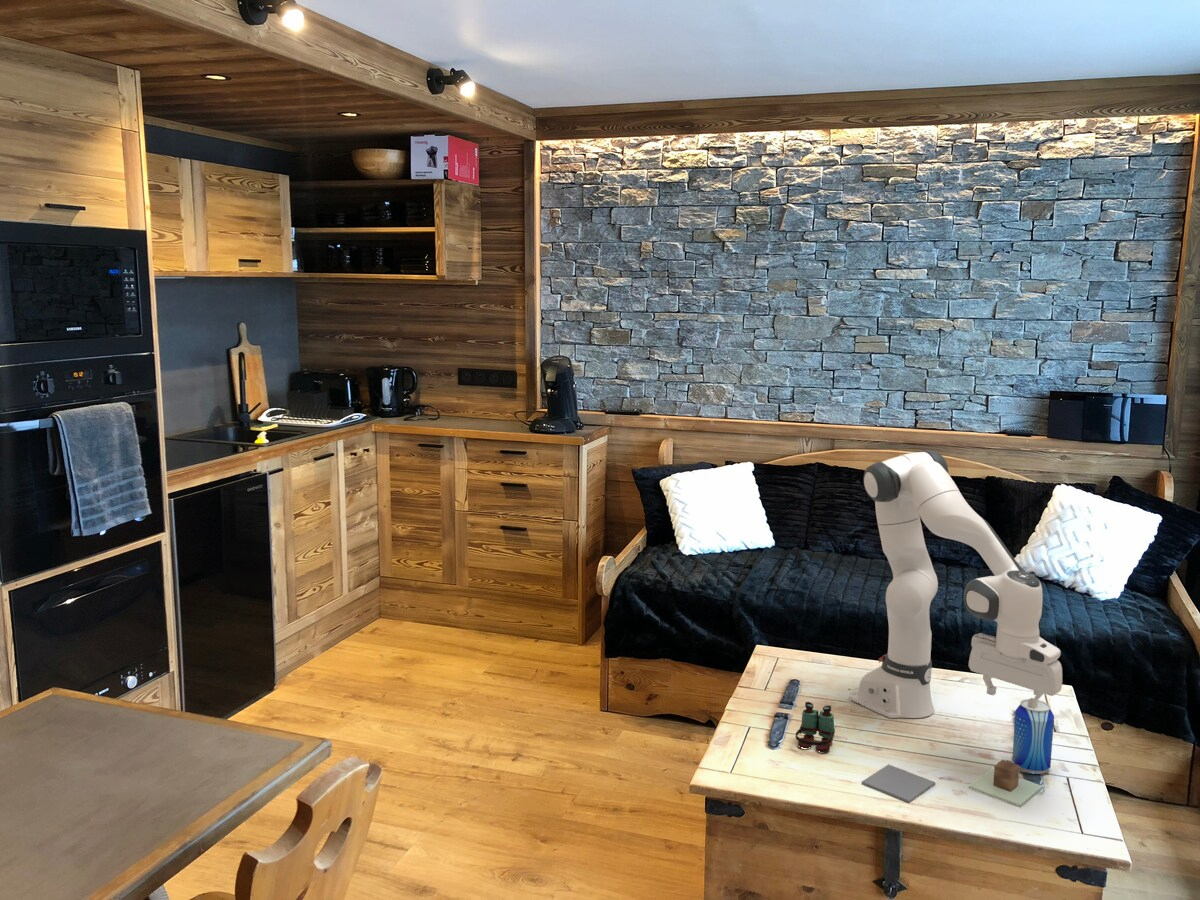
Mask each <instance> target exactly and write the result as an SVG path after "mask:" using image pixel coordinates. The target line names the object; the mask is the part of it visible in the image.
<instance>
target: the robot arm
mask: <svg viewBox="0 0 1200 900" xmlns="http://www.w3.org/2000/svg"><path fill="white" fill-rule="evenodd" d="M862 479H863V486H864V490H865V493H866V494H867V495H868V497H869V498H870V499H871V500H873V501H874V504H875V506H874V507H875V515H876V522H877V528H878V532H879V533H878V534H879V538H880V541H881V542H880V543H881V548H882V551H883V552H882V553H884V555H885V557H886V558H887V561H888V564H889V567H890V568H891V572H892V581H891V582H889V584H888V586H887V588H886V591H885V604H886V612H887V621H888V642H887V643H888V645H887V646H888V647H887V653H886V654H883V655H882V656H881V657H880V658H879V657H878V660H879V661H878V663H881V662H882V663H881V666H879V667H876V668H875V669H873V670H872V671H870V672H867V673H866V674H865V675H863V677H862V678H861V680H860V682H859V685H858V687H857V688H855V689H853V691H851V693H850V695H849V700H850V699H851V700H853V701H852V702H854V701H855V702H854V703H856V702H857V703H856V704H858V703H859V704H858V705H860V704H861V705H860V706H862V705H863V707H864V706H865V707H864V708H866V709H869V710H872V711H873V712H876V713H878V714H880V715H882V716H884V717H886V718H888V719H889V718H890V719H898V718H906V719H923V718H926V717H930V716H931V715H933V714H934V713H935V709H934V705H933V699H932V693H931V691H932V690H931V679H932V667H933V666H932V664H933V662H932V658H931V651H932V636H933V634H932V630H931V621H930V608H931V607H930V606H931V602H932V600H933V599H934V598H935V596H936V595H937V592H938V587H939V586H938V585H939V581H938V577H937V574H936V571H935V569H934V566H933V563H932V559H931V557H930V555H929V551H928V549H927V546H926V542H925V537H924V533H923V532H924V531H923V527H922V522H923V524H924V526H926V527H927V529H928V530H929V531H930V532H931V533H932V534H934V535H935V536H938V537H941V538H944V539H948V540H953V541H956V542H961V543H963V544H965V545H966V546H970V547H971V548H973V549H974V550H976V552H977V553H978V554H979V555H980V556H981V558H982V559H983V561H984V562H985V563H986V565H987V566H988V568H989V570H990V571H991V572H992V574H993V575H989V576H983V577H979V578H978V577H977V578H975V579H971V580H970V581H969V582H968V583H967V584H966V585H965V587H964V590H963V601H964V605H965V607H966V610H967V611H968V612H969V614H970V615H972V616H974V617H975V618H978V619H981V620H985V621H986V620H987V621H995V622H996V623H997V625H996V627H997V628H996V636H992V635H990V634H989V635H988V634H985V633H983V632H979V633H975V634H974V635H973V636H972V638H971V642H970V643H971V644H970V646H971V651H970V653H969V660H968V668H969V669H970V671H971V672H974V673H977V674H981V675H982V680H983V682H984V684H985V685H986V686H985V687H986V694H987V695H991V696H995V695H997V694H996V693H997V685H996V686H995V685H994V684H993V681H992V679H997V680H999V681H1003V682H1006V683H1008V684H1009V683H1010V684H1012V685H1015V686H1018V687H1022V688H1024V689H1025V688H1026V689H1028V690H1031V691H1033V696H1034V697H1030V698H1028V699H1029V700H1028V705H1027V707H1030V708H1033V709H1035V708H1036V707H1037V701H1038V700H1040V699H1041V697H1042V696H1043V695H1047V696H1051V697H1053V696H1055V695H1057V694H1059V693H1060V692H1061V690H1062V688H1063V667H1062V663H1061V662H1060V661H1059V660H1058V659H1059V658H1060V657H1061V654H1062V653H1061V652H1062V651H1061V649H1060V648H1058V647H1057V646H1055V645H1053V644H1052V643H1050V642H1048V641H1046V640H1045V639H1044V638H1042V637H1041V636H1040V627H1039V623H1040V620H1041V617H1042V615H1043V614H1042V612H1043V602H1044V601H1043V599H1044V598H1043V597H1044V596H1043V586H1042V583H1041V581H1040V579H1039V578H1038V577H1037V576H1035V575H1033V574H1032V573H1030V572H1027V571H1026V570H1025V569H1023V568H1022V566H1020V564H1019V563H1018V562H1017V560H1016V559H1015V557H1014V556H1013V555H1012V553H1011V552H1010V550H1009V548H1007V546H1006V545H1005V543H1004V542H1003V540H1002V539H1001V538H1000V537H999V535H998V534H997V533H996V531H995V530H994V528H993V527H992V526H991V525H990V523H989V522H988V521H987V520H985V519H984V518H983V517H982V516H980V515H979V514H978V513H977V512H976V511H975V510H974V509H973V507H971V505H969V503H968V502H967V501H966V499H965V498H964V496H963V495H962V493H961V492H960V489H959V488H958V485H957V484H956V483H955V480H953V479H952V476H951V475H950V474H949V466H948V463H947V460H946V459H945V457H944V456H943V455H942V454H941V453H940V452H939V451H936V450H926V449H925V450H921V451H920V452H918V451H917V452H911V453H906V454H905V453H904V454H900V455H898V456H895V457H891V458H888V459H886V460H883V461H877V462H875V463H872V464H871V465H869V466H867V467H866V468H865V470H864V473H863V477H862ZM921 521H922V522H921ZM851 700H850V701H851Z"/></svg>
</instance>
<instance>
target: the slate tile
mask: <svg viewBox="0 0 1200 900" xmlns="http://www.w3.org/2000/svg"><path fill="white" fill-rule="evenodd" d="M863 784H864V786H865V785H866V787H868V788H871V789H873V790H876V791H878V792H881V793H883V794H886V795H888V796H891V797H892V798H896V799H898V800H900V801H903V802H905V803H908V804H910V803H912V802H913V801H915V800H916V799H917V798H919V797H920V796H921V795H922V794H924V793H926V792H927V791H928V790H929V789H931V788H932V787H934V786H935V785H936V781H934V780H930V779H928V778H925V777H923V776H920V775H917V774H915V773H913V772H909V771H907V770H904V769H902V768H899V767H896V766H894V765H891V764H887V765H885V766H884V767H882V768H880V769H879V770H877V771H876V772H875V773H873V774H871V775H869V776H868V777H867V778H864V779H863V780H862V781H861V785H863Z"/></svg>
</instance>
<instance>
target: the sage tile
mask: <svg viewBox="0 0 1200 900" xmlns="http://www.w3.org/2000/svg"><path fill="white" fill-rule="evenodd" d="M993 783H994V768H993V767H991V768H990V769H988V770H987V771H985V772H984V773H983V774H982V775H980V776H978V777H977V779H975V780H973V782H971V783H970V784H968V786H967V787H968V789H970V790H973V791H976V792H978V793H981V794H983V795H987V796H989V797H992V798H994V799H997V800H1000V801H1003V802H1005V803H1007V804H1011V805H1013V806H1016V807H1018V808H1022V807H1023V806H1024V805H1025V804H1027V802H1029V800H1031V799H1033V797H1034V796H1036V795H1037V794H1038V793H1039V792H1040V791H1042V790H1043V787H1044V786H1043V785H1041V784H1038V783H1036V782H1032V781H1029V780H1027V779H1025V778H1021V777H1019V781H1018V786H1017V787H1016V788H1015V789H1014V790H1012V791H1011V792H1009V791H1007V790H1004V789H1001V788H998V787H996V786H993Z"/></svg>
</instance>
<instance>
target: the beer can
mask: <svg viewBox="0 0 1200 900" xmlns="http://www.w3.org/2000/svg"><path fill="white" fill-rule="evenodd" d="M1029 699H1030V698H1027V699H1025V698H1024V699H1022V700H1021V701H1020V702H1019V705H1018V707H1016V709H1015V711H1014V712H1015V714H1014V716H1015V717H1014V729H1013V732H1014V733H1013V744H1012V755H1011V757H1012V758H1011V760H1012V763H1014V764H1017V765H1020V767H1019V772H1022V773H1025V772H1036V773H1040V774H1041V775H1044V774H1046V773H1047V772H1048V771H1049V769H1050V768H1051V766H1052V754H1053V753H1052V751H1053V740H1054V739H1053V736H1054V723H1055V714H1054V713H1053V711H1052V710H1051V708H1052V707H1051V705H1050V704H1049V703H1047V702H1046V701H1043V700H1040V699H1039V700H1038V701H1037V707H1036V708H1035V709H1033V708H1030V707H1027V705H1028V700H1029Z"/></svg>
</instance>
